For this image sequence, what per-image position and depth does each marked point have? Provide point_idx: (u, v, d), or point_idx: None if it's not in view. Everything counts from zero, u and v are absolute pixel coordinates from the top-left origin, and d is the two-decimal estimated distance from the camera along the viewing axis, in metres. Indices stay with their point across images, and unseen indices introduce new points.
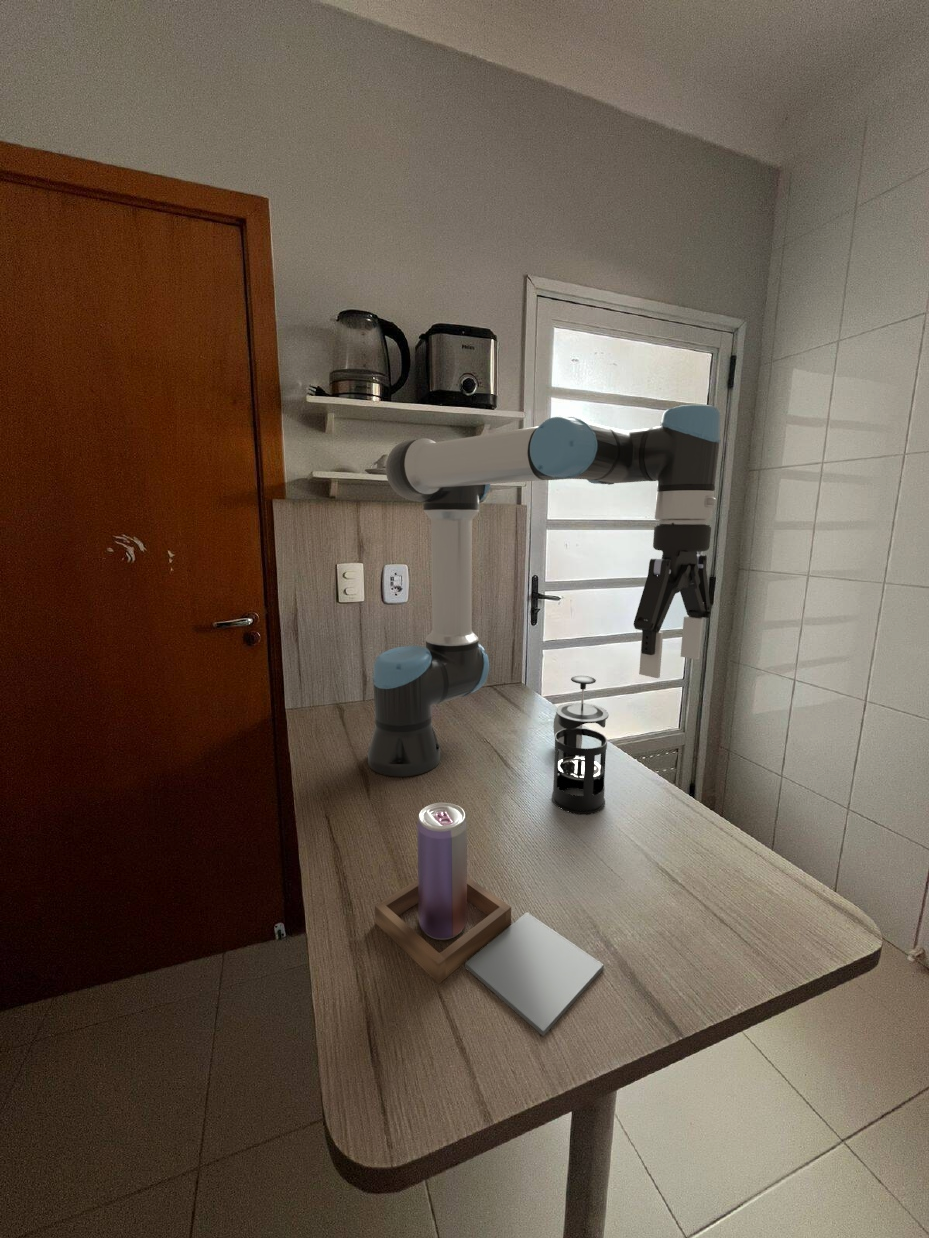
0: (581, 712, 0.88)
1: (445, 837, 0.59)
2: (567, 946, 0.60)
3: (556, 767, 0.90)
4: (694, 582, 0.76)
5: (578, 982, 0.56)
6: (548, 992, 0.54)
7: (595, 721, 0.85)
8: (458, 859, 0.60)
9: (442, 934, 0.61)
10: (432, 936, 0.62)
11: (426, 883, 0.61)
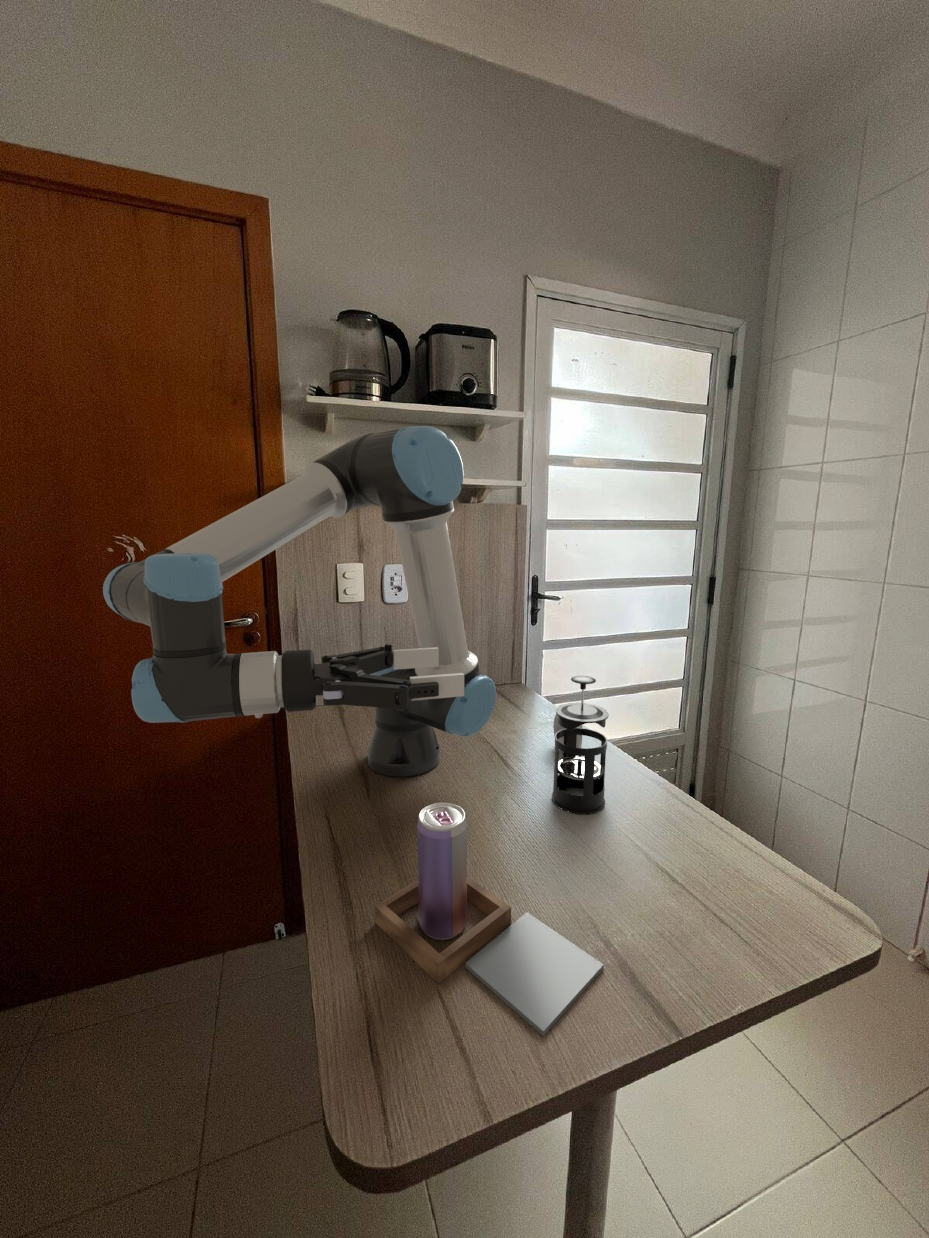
0: (581, 712, 0.88)
1: (445, 837, 0.59)
2: (567, 946, 0.60)
3: (556, 767, 0.90)
4: None
5: (578, 982, 0.56)
6: (548, 992, 0.54)
7: (595, 721, 0.85)
8: (458, 859, 0.60)
9: (442, 934, 0.61)
10: (432, 936, 0.62)
11: (426, 883, 0.61)
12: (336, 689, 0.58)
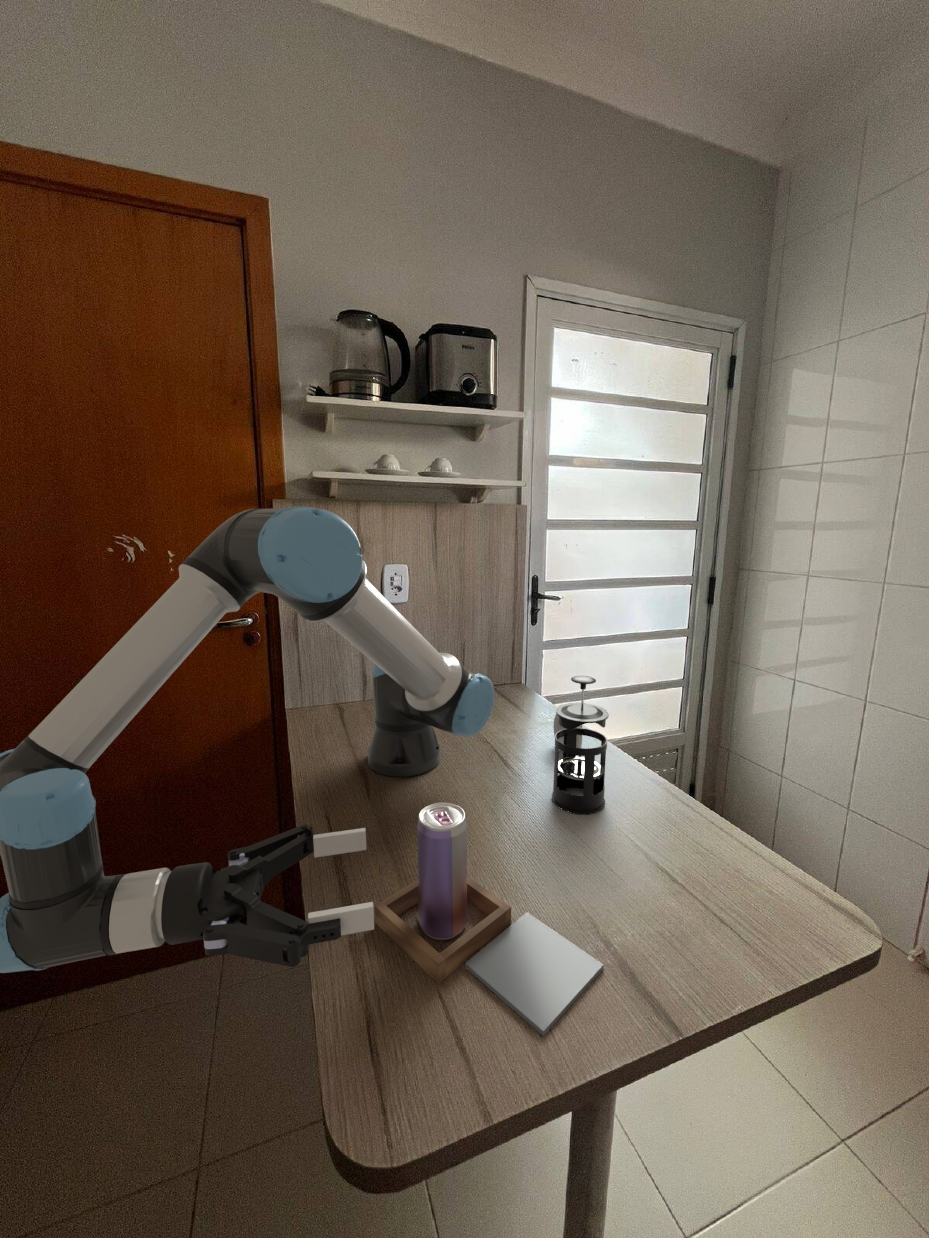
0: (581, 712, 0.88)
1: (445, 837, 0.59)
2: (567, 946, 0.60)
3: (556, 767, 0.90)
4: None
5: (578, 982, 0.56)
6: (548, 992, 0.54)
7: (595, 721, 0.85)
8: (458, 859, 0.60)
9: (442, 934, 0.61)
10: (432, 936, 0.62)
11: (426, 883, 0.61)
12: (218, 938, 0.50)
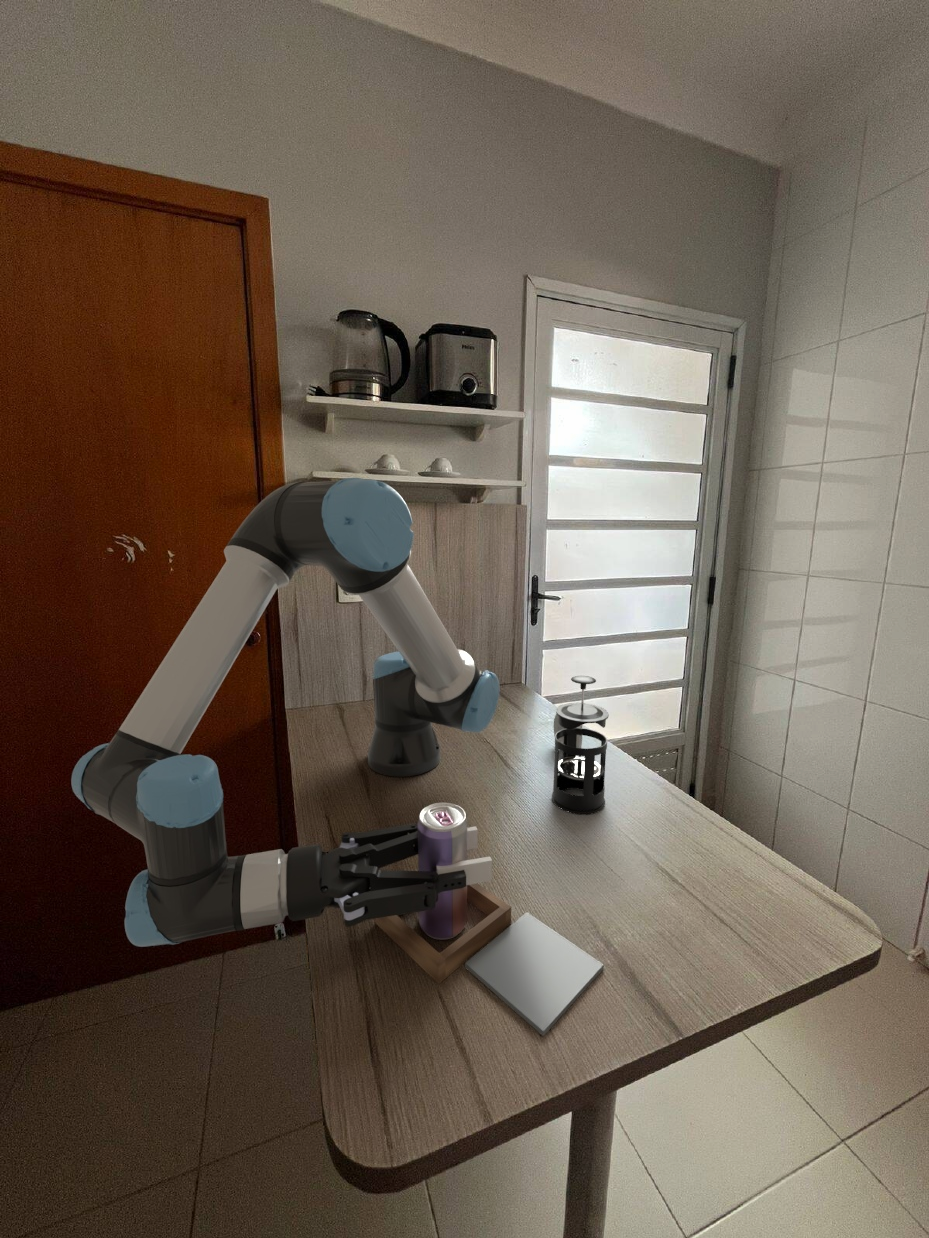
0: (581, 712, 0.88)
1: (445, 838, 0.59)
2: (567, 946, 0.60)
3: (556, 767, 0.90)
4: (367, 890, 0.60)
5: (578, 982, 0.56)
6: (548, 992, 0.54)
7: (595, 721, 0.85)
8: (459, 860, 0.60)
9: (442, 934, 0.61)
10: (432, 936, 0.62)
11: None
12: (360, 906, 0.54)
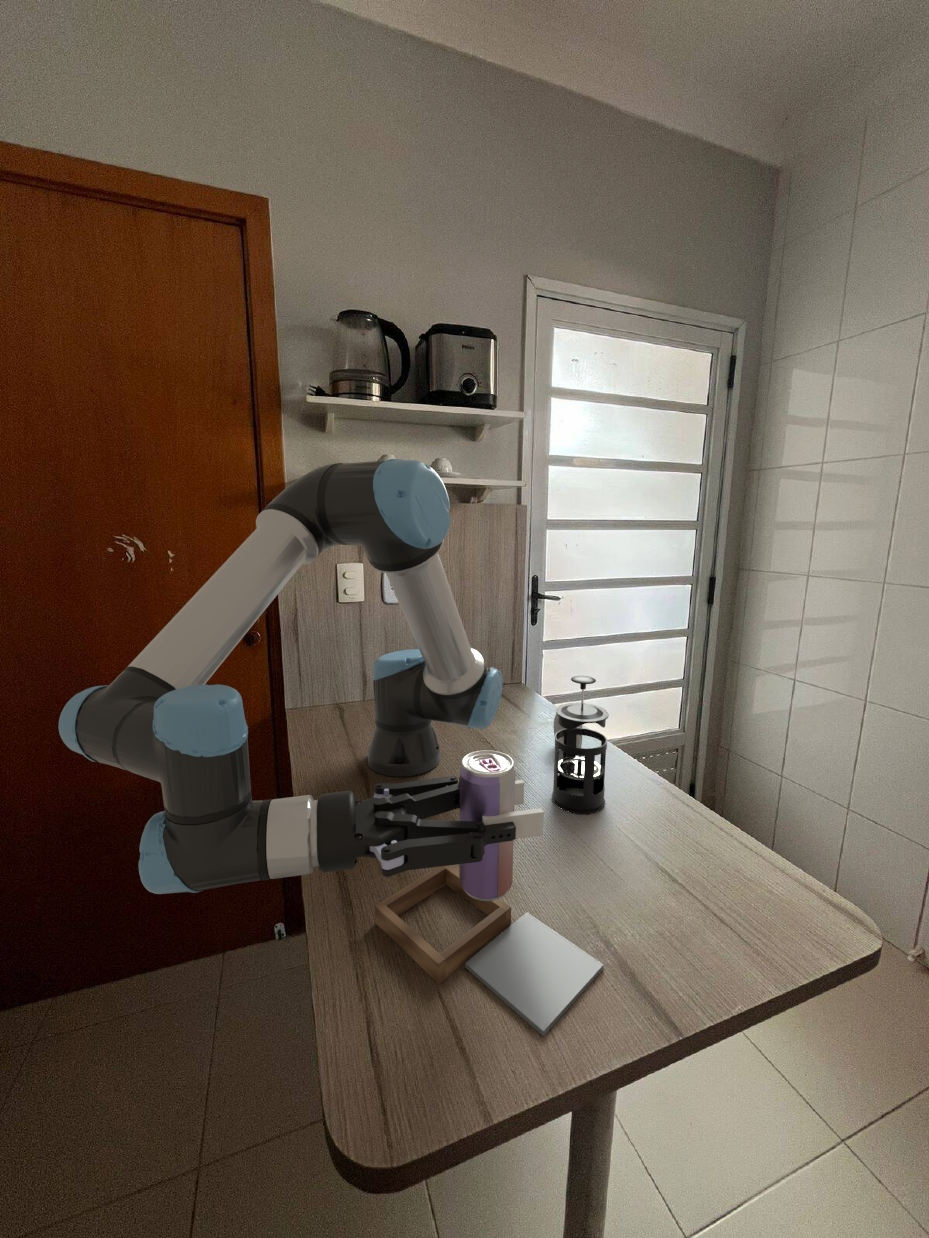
0: (581, 712, 0.88)
1: (492, 784, 0.53)
2: (567, 946, 0.60)
3: (556, 767, 0.90)
4: None
5: (578, 982, 0.56)
6: (548, 992, 0.54)
7: (595, 721, 0.85)
8: (506, 810, 0.54)
9: (486, 894, 0.55)
10: (475, 896, 0.55)
11: None
12: (399, 855, 0.48)
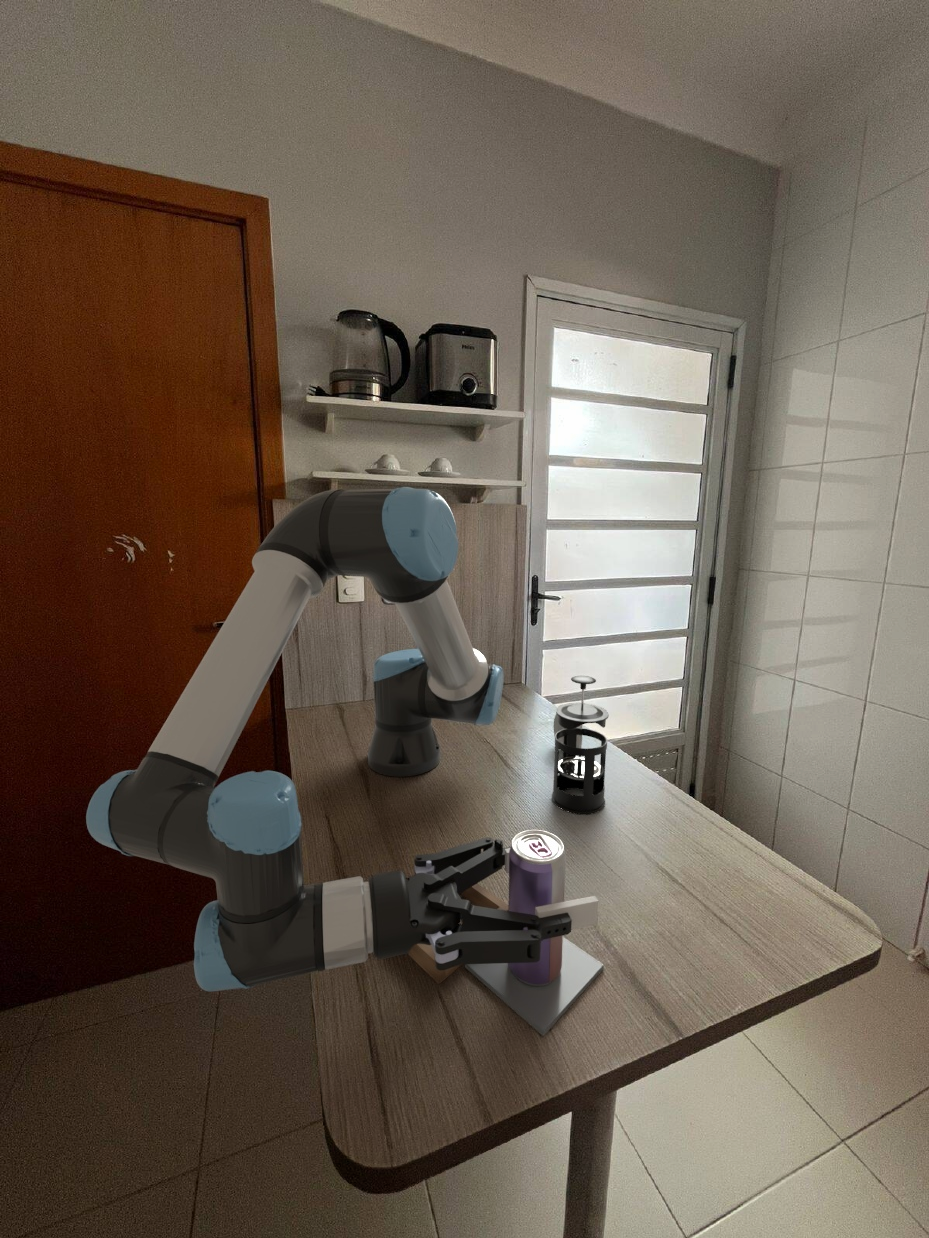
0: (581, 712, 0.88)
1: (545, 871, 0.52)
2: (567, 946, 0.60)
3: (556, 767, 0.90)
4: None
5: (578, 982, 0.56)
6: (548, 992, 0.54)
7: (595, 721, 0.85)
8: (558, 896, 0.53)
9: (538, 980, 0.54)
10: (526, 981, 0.55)
11: None
12: (453, 949, 0.47)
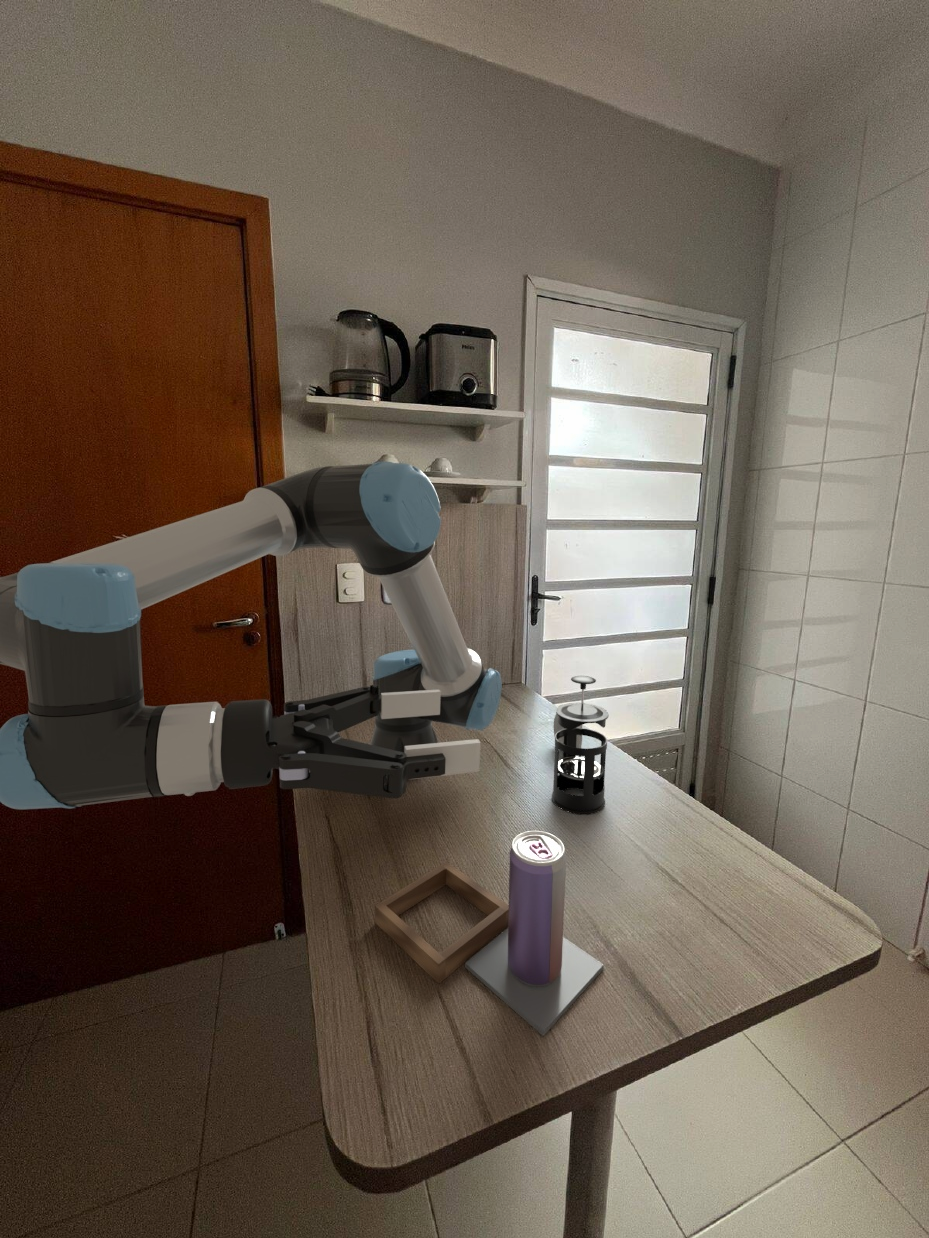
0: (581, 712, 0.88)
1: (545, 873, 0.52)
2: (567, 946, 0.60)
3: (556, 767, 0.90)
4: None
5: (578, 982, 0.56)
6: (548, 992, 0.54)
7: (595, 721, 0.85)
8: (558, 897, 0.53)
9: (538, 980, 0.54)
10: (526, 982, 0.55)
11: (522, 923, 0.54)
12: (298, 766, 0.40)
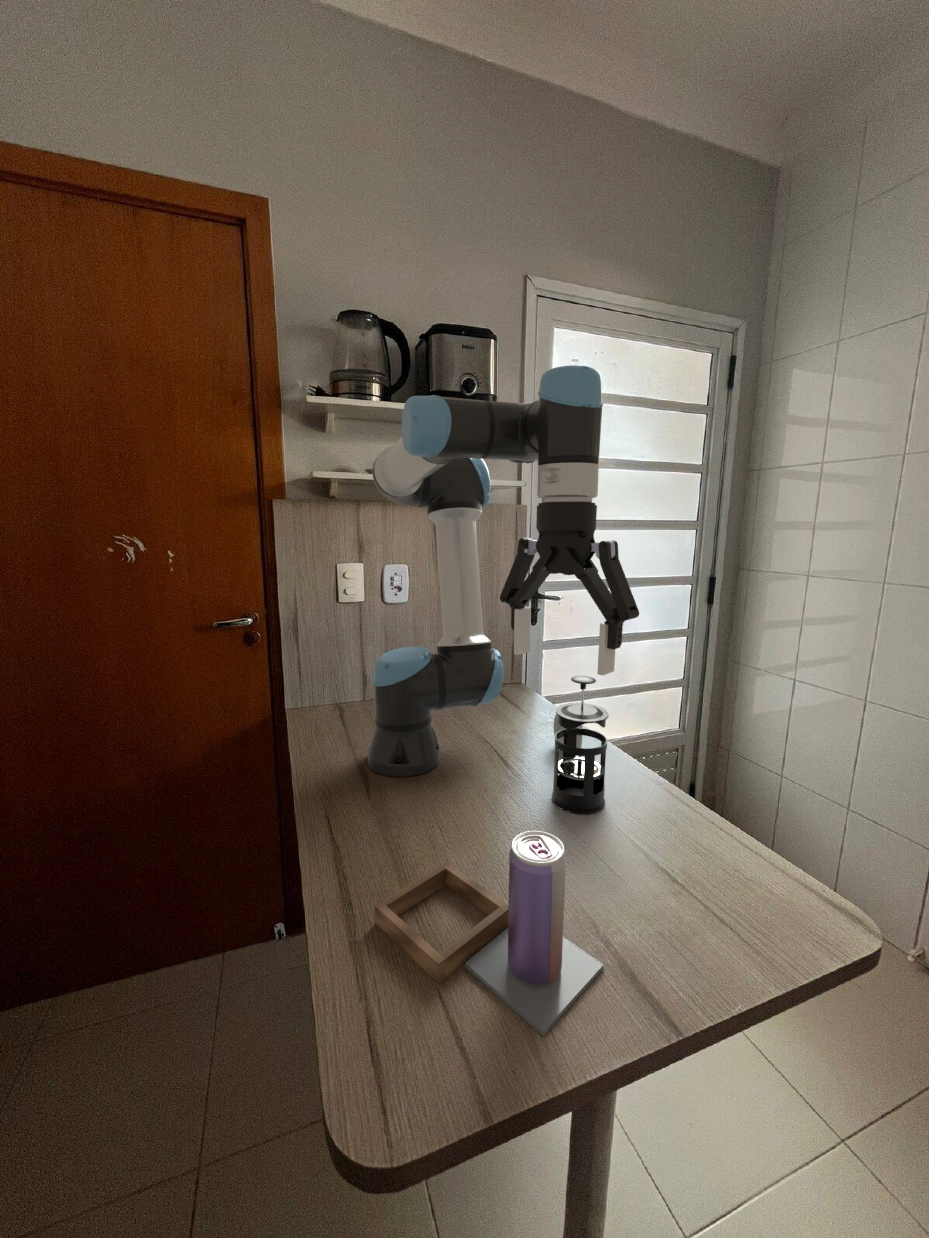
0: (581, 712, 0.88)
1: (545, 873, 0.52)
2: (567, 946, 0.60)
3: (556, 767, 0.90)
4: None
5: (578, 982, 0.56)
6: (548, 992, 0.54)
7: (595, 721, 0.85)
8: (558, 897, 0.53)
9: (538, 980, 0.54)
10: (526, 982, 0.55)
11: (521, 923, 0.54)
12: (615, 552, 0.62)
